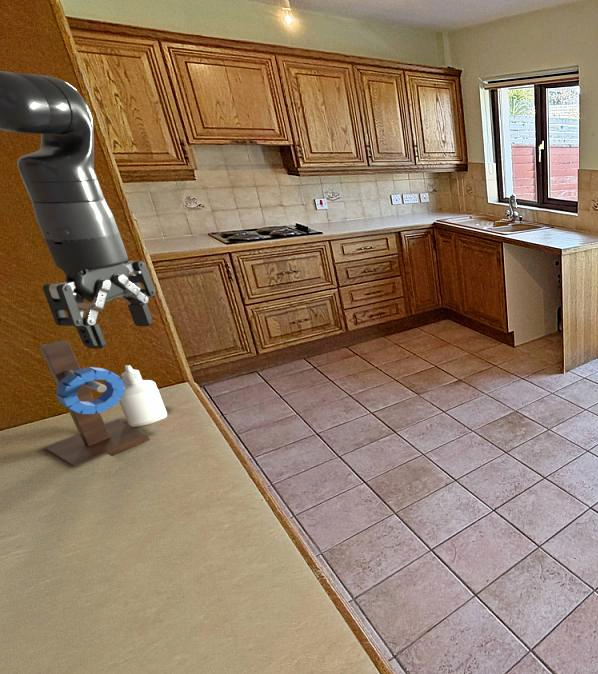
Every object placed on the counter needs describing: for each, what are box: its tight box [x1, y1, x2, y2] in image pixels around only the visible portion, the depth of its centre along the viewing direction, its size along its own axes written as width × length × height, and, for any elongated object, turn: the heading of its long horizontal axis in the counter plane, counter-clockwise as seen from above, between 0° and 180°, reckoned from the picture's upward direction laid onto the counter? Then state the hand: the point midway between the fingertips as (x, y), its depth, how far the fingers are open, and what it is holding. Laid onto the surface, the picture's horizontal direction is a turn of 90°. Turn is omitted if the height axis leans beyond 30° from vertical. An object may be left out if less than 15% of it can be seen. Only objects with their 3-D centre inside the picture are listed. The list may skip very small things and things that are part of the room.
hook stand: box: [38, 339, 150, 467], centre depth 79 cm, size 16×10×20 cm, turn 66°
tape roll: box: [55, 366, 125, 414], centre depth 77 cm, size 2×7×7 cm, turn 155°
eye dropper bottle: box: [118, 364, 168, 428], centre depth 90 cm, size 4×6×12 cm
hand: (121, 336), depth 74 cm, fingers open, 8 cm apart
